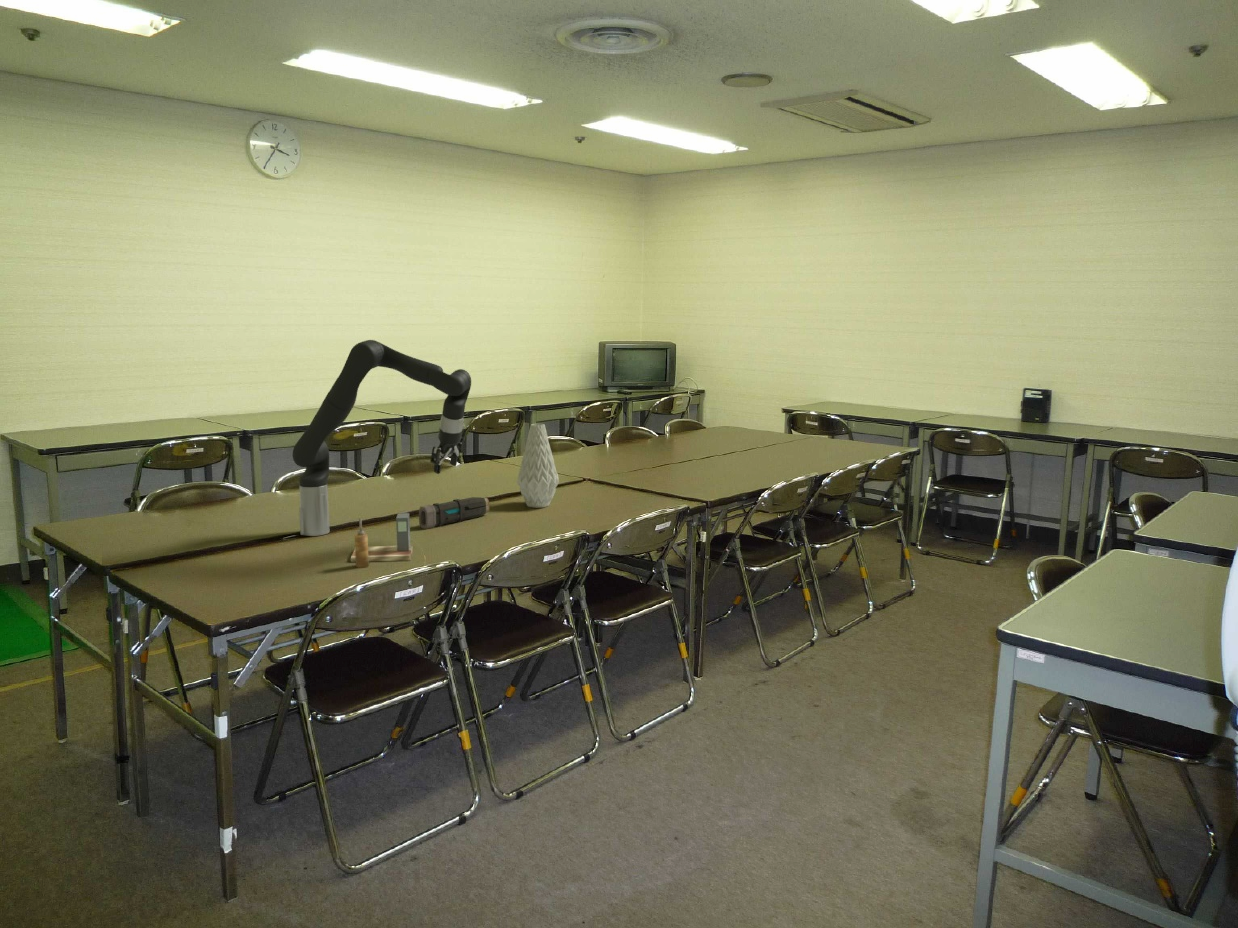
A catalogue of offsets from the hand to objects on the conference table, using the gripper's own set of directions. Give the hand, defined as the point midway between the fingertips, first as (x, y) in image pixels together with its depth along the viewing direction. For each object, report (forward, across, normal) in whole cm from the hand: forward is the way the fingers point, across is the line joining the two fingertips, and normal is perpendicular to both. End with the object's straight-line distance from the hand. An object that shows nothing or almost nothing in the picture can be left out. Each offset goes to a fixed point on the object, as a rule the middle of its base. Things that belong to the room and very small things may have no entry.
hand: (445, 468), depth 305 cm
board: (+19, +32, +4) cm, 37 cm away
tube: (+30, -14, -2) cm, 33 cm away
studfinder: (+17, +26, +7) cm, 32 cm away
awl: (+16, +43, +6) cm, 47 cm away
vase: (+32, -52, +10) cm, 62 cm away
